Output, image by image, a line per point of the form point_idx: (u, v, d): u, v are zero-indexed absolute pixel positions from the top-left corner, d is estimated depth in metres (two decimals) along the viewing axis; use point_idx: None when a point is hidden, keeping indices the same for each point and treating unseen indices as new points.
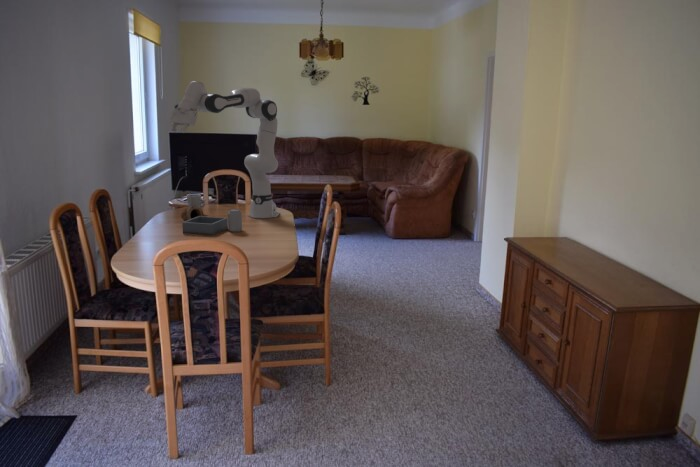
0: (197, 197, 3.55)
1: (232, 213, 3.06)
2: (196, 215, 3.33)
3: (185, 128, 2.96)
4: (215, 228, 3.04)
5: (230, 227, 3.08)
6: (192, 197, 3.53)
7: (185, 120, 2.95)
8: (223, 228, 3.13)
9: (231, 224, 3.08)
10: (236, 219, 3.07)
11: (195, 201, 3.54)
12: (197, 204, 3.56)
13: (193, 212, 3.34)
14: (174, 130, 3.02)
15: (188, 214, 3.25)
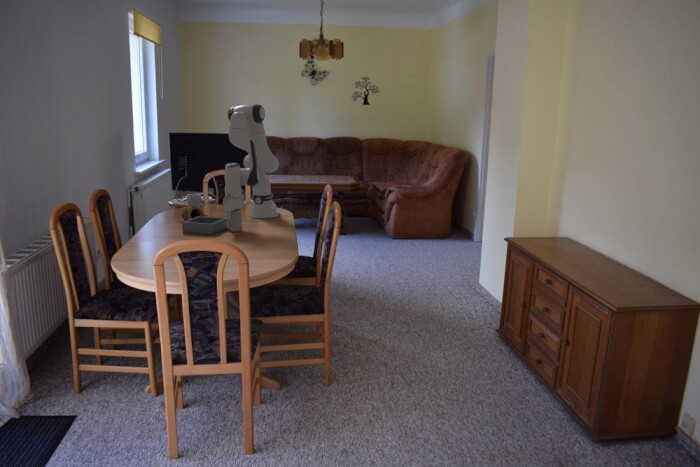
0: (197, 197, 3.55)
1: (232, 213, 3.06)
2: (196, 215, 3.34)
3: (229, 215, 3.04)
4: (215, 228, 3.04)
5: (230, 227, 3.08)
6: (192, 197, 3.53)
7: None
8: (223, 228, 3.13)
9: (231, 224, 3.08)
10: (236, 219, 3.07)
11: (195, 201, 3.54)
12: (197, 204, 3.56)
13: (193, 212, 3.35)
14: None
15: (189, 214, 3.26)
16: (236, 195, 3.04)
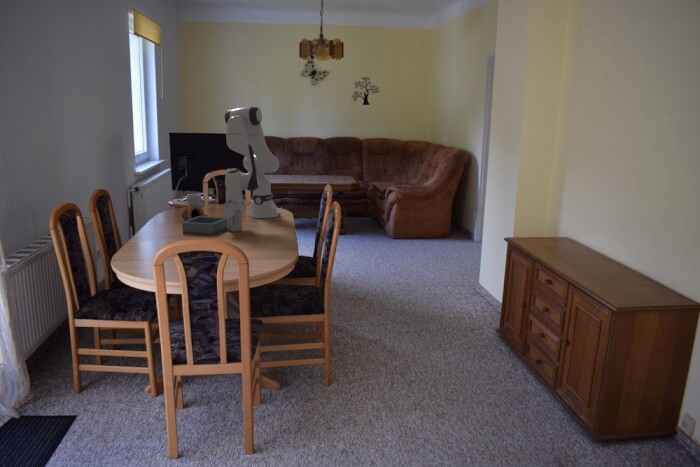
0: (197, 197, 3.55)
1: None
2: (197, 215, 3.34)
3: (230, 220, 3.05)
4: (215, 228, 3.04)
5: (230, 227, 3.08)
6: (192, 197, 3.53)
7: None
8: (223, 228, 3.13)
9: None
10: (236, 219, 3.07)
11: (195, 201, 3.54)
12: (197, 204, 3.56)
13: (193, 212, 3.35)
14: None
15: (189, 214, 3.26)
16: (237, 200, 3.04)
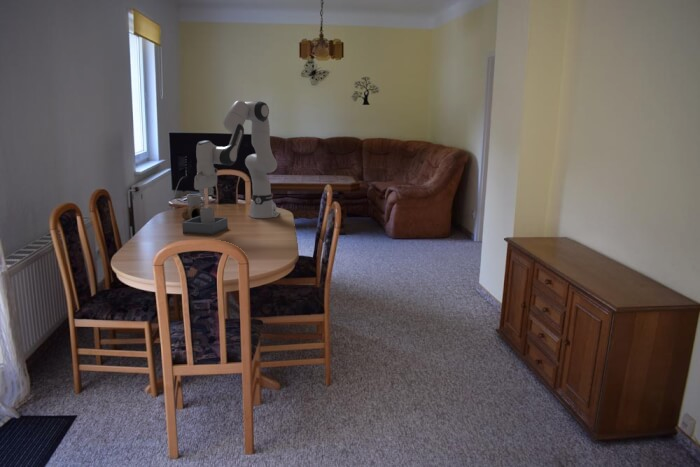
0: (197, 197, 3.55)
1: (204, 210, 3.06)
2: (197, 214, 3.35)
3: (201, 193, 3.02)
4: (215, 228, 3.04)
5: None
6: (192, 197, 3.53)
7: None
8: (223, 228, 3.13)
9: (203, 221, 3.07)
10: (208, 216, 3.06)
11: (195, 201, 3.54)
12: (197, 204, 3.56)
13: (194, 211, 3.36)
14: (209, 193, 3.10)
15: (189, 213, 3.27)
16: (208, 173, 3.01)
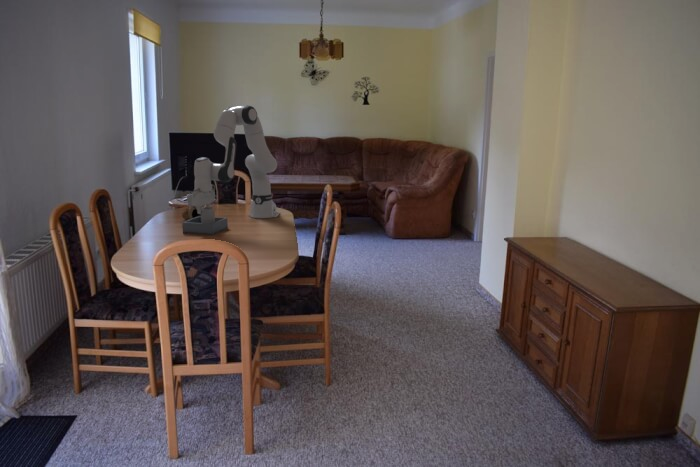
0: None
1: (204, 211, 3.05)
2: (197, 214, 3.35)
3: (198, 209, 3.03)
4: (215, 228, 3.04)
5: None
6: None
7: None
8: (223, 228, 3.13)
9: (203, 222, 3.06)
10: (208, 218, 3.06)
11: None
12: None
13: (194, 211, 3.36)
14: None
15: (190, 213, 3.27)
16: (205, 189, 3.03)
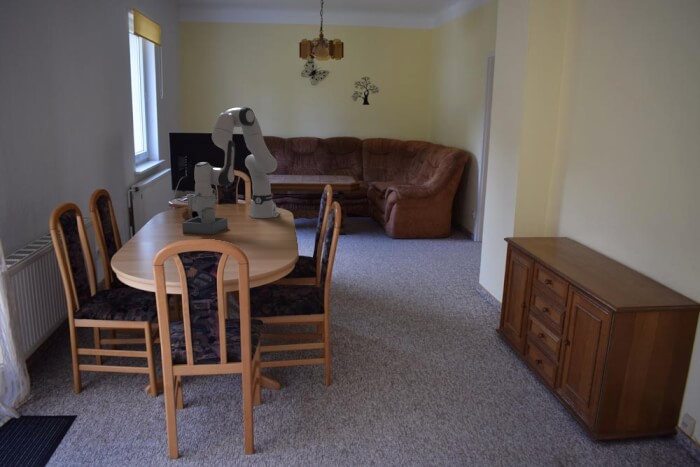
0: None
1: (204, 211, 3.05)
2: (197, 214, 3.35)
3: (199, 214, 3.04)
4: (215, 228, 3.04)
5: None
6: (192, 197, 3.53)
7: None
8: (223, 228, 3.13)
9: (203, 222, 3.06)
10: (208, 218, 3.06)
11: None
12: None
13: (194, 211, 3.36)
14: None
15: (190, 213, 3.27)
16: (206, 194, 3.03)
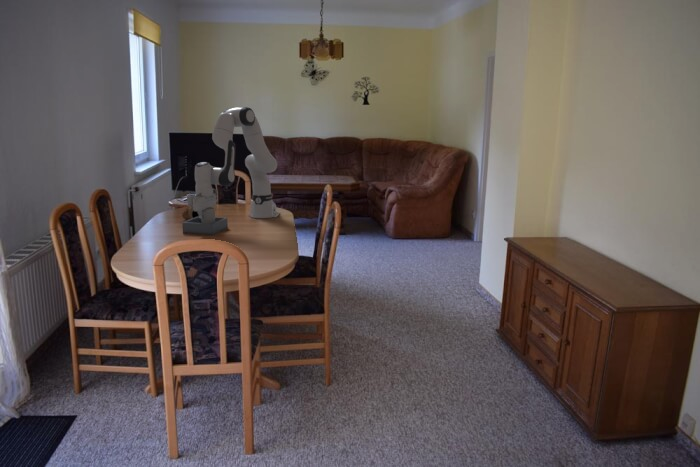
0: None
1: (204, 211, 3.05)
2: (197, 214, 3.36)
3: (200, 214, 3.04)
4: (215, 228, 3.04)
5: None
6: (192, 197, 3.53)
7: None
8: (223, 228, 3.13)
9: (203, 222, 3.06)
10: (208, 218, 3.06)
11: None
12: None
13: (194, 211, 3.37)
14: None
15: (190, 213, 3.27)
16: (207, 194, 3.04)
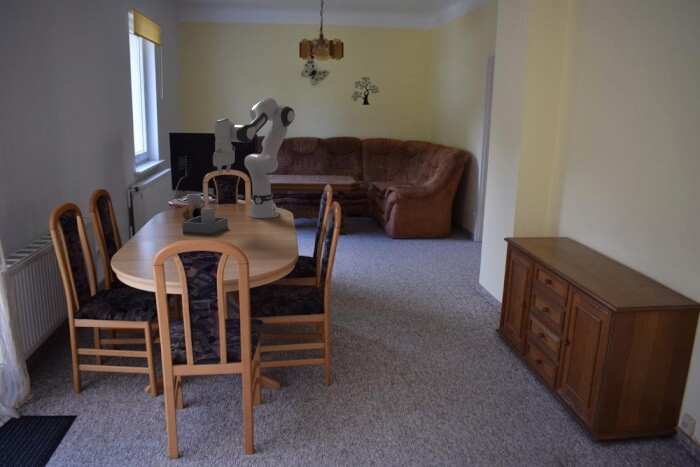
0: (197, 197, 3.55)
1: (204, 211, 3.05)
2: (198, 214, 3.36)
3: (219, 170, 3.08)
4: (215, 228, 3.04)
5: None
6: (192, 197, 3.53)
7: None
8: (223, 228, 3.13)
9: (203, 222, 3.06)
10: (208, 218, 3.06)
11: (195, 201, 3.54)
12: (197, 204, 3.56)
13: (194, 211, 3.37)
14: (227, 170, 3.18)
15: (190, 213, 3.28)
16: (226, 150, 3.08)
